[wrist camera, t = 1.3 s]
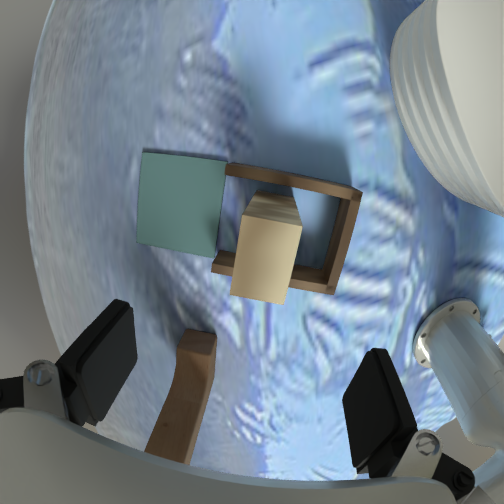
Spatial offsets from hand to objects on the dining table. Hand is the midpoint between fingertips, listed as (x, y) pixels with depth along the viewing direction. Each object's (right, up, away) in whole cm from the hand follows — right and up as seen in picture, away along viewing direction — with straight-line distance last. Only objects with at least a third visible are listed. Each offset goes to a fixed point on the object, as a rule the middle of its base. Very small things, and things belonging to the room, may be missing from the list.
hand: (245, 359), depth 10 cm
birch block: (+2, +8, +20) cm, 22 cm away
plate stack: (+29, +23, +12) cm, 39 cm away
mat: (-8, +10, +21) cm, 24 cm away
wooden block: (-7, -11, +28) cm, 31 cm away
